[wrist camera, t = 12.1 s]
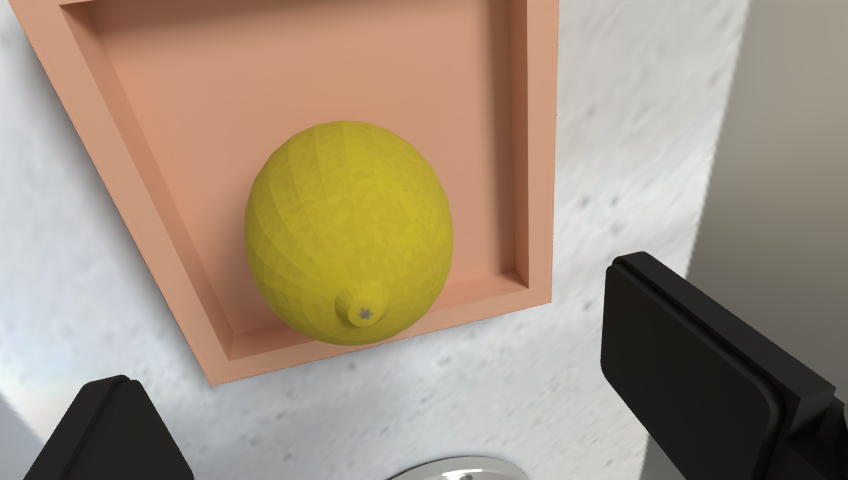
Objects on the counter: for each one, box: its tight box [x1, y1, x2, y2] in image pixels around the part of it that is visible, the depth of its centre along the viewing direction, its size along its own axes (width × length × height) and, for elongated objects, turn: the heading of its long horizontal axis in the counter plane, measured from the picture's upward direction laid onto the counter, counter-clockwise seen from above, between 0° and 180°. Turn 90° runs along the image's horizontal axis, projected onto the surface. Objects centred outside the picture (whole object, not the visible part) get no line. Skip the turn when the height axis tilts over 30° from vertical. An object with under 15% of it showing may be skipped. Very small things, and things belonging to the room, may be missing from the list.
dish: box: [8, 0, 559, 386], centre depth 16 cm, size 14×14×2 cm
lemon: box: [245, 120, 454, 346], centre depth 13 cm, size 6×6×8 cm
